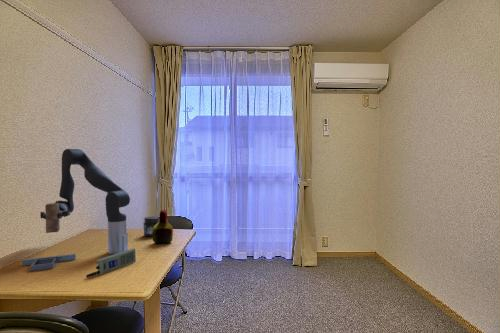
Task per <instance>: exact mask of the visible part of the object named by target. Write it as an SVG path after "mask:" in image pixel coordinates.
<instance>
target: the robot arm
mask: <svg viewBox="0 0 500 333" xmlns="http://www.w3.org/2000/svg"><path fill="white" fill-rule="evenodd" d="M72 165H77V166H80V167H82V169H83V172H84V173H83V174H84V178H85V180H86V181H87V182H88V183H89V184H90V185H91V186H92V187H94V188H96V189H98V190H100V191H102V192H105V193H107V194H106V196H105V214H106V217H107V253H108V254H109V255H114V254H117V253H120V252H123V251H126V250H129V236H128V235H129V234H128V232H127V215H126V214H124V213H121V211H120V208H124V207H127V206H128V205H129V204H130V201H131V198H130V195H129V193H128V192H127V191H126V190H125V189H124V188H122V187H121V186H119V185H118V184H117V183H115V182H114V181H113V180H112V179H111V178H110V177H109V176H108V175H106V173H105V172H104V171H103V170H102V169H101V168H99V167H98V166H97V165H96V164H95V163H94V162H93V161H92V160H91V159H90V157H89V156H88V155H87V153H86V152H85V151H84V150H82V149H79V148H65V149H64V150H63V151H62V154H61V183H60V188H59V192H58V193H59V197H60V198H62V199H64V200H56V201H55V202H54V203H59V213H58V214H57V218H59V220H60V219H62V218H63V217H64V218H66V217H68V216H71V214H72V213H73V211H74V209H75V204H74V196H73V195H74V191H75V181H74V178H73V176H72V173H71V167H72ZM39 212H40V213H39V214H40V219H44V220H46V212H45V211H39Z"/></svg>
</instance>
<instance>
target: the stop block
mask: <svg viewBox="0 0 500 333" xmlns="http://www.w3.org/2000/svg"><path fill="white" fill-rule="evenodd" d="M44 207H45V211H44V212H45V213H46V219H45V233H46V234H50V233H58V232H59V231H60V219H59V218H57V214H58V213H59V203H55V202H53V203H52V202H50V203H46V204H45V206H44Z"/></svg>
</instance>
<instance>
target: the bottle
mask: <svg viewBox="0 0 500 333" xmlns="http://www.w3.org/2000/svg"><path fill="white" fill-rule="evenodd" d="M158 217H159V222H158V223H157V224H156V225H155V226H154V227H153V231H152V236H153V237H152V241H153V243H154V244H156V245H160V244H169V243H172V242H173V239H174V237H173V236H174V228H173V226H172V225H171V224H170V223H169V221H168V211H167V210H166V209H162V210H160V212H159V216H158Z"/></svg>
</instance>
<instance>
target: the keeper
mask: <svg viewBox="0 0 500 333" xmlns="http://www.w3.org/2000/svg"><path fill="white" fill-rule="evenodd" d="M76 260H77V253H70V254H69V253H68V254H61V255H51V256H41V257H33V258H32V257H31V258H23V259H22V265H21V266H30V272H37V271H47V270H53V269H55V267H56V265H57V264H58V263H59V262H67V261H69V262H70V261H76Z"/></svg>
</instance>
